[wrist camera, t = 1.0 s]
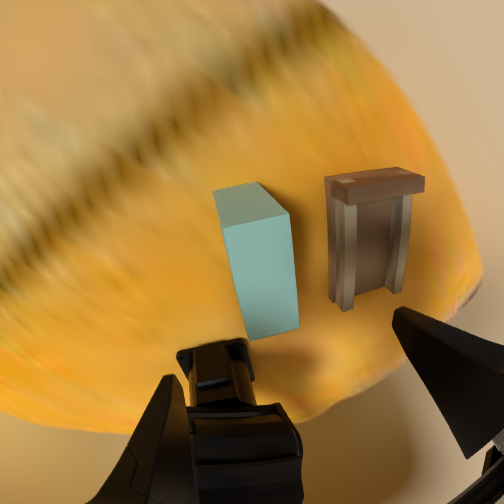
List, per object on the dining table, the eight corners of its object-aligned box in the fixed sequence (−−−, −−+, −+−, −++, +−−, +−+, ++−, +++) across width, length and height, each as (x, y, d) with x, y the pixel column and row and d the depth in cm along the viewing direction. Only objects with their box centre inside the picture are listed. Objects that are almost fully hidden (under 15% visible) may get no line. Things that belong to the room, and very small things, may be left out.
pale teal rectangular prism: (271, 268, 22) (301, 327, 15) (232, 278, 21) (249, 341, 15) (258, 181, 18) (292, 213, 12) (212, 190, 18) (222, 228, 12)
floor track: (390, 277, 25) (410, 296, 22) (328, 297, 24) (345, 321, 21) (397, 167, 20) (424, 176, 17) (324, 176, 19) (347, 188, 16)
